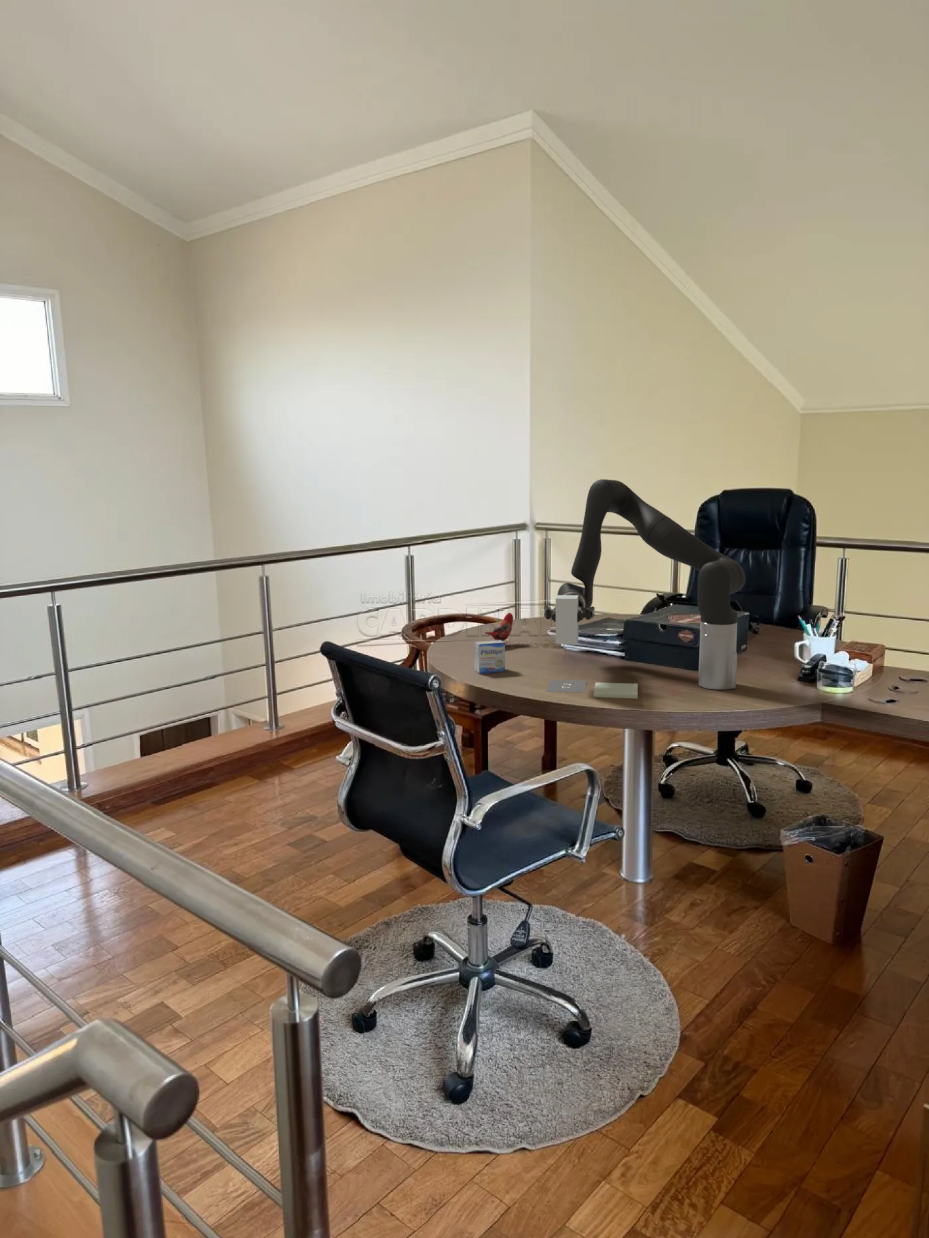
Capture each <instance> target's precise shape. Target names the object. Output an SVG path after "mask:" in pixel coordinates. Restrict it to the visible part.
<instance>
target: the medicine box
mask: <svg viewBox="0 0 929 1238" xmlns="http://www.w3.org/2000/svg"><path fill="white" fill-rule="evenodd" d="M505 643H506V642H504V641H501V640H495V639H494V640H485V641H475V642H474V670H475V671H476V672H477V673H478V674H479V675H483V674H485V675H486V674H494V673H500V672H501V673H502V672H506V647H505V646H506V644H505Z"/></svg>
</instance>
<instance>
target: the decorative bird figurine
mask: <svg viewBox="0 0 929 1238" xmlns="http://www.w3.org/2000/svg"><path fill="white" fill-rule="evenodd" d="M502 619H503V620H502V621H501V622H500V623H499V624H497V625H496V627H494V629H493V630H492V631H487V632H484V634H486V635H488V636H489V635H490V636H491V637H492V639H494V641H495V640H501V641H503V642H504V641H506V640H507V639H508V638H509V636H510V635H511V633H512V629H513V628H512V627H513V624H514V616H513V614H512V612H507V614H505V616H504V617H503V618H502ZM504 643H505V645H506V644H507V643H508V641H507V642H504Z"/></svg>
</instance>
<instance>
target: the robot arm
mask: <svg viewBox="0 0 929 1238" xmlns="http://www.w3.org/2000/svg"><path fill="white" fill-rule="evenodd" d="M607 513H611V514H616V515H618V516H619V517H621V518H623V519H624V520H626V521H628V522H629V523H630V524H632V526H634V528H635V529H636V532H637V534H639V537H640V538H641V539H642V541H643V542H644V543H645V544H646V545H648V546H650V547H651V548H652V549H653V550H655V551H656V552H657V553H659V554H661V555H662V556H664V557H666V558H668V559H671V560H672V561H676V562H678V563H680V564H684V565H686V566H689V567H690V568H693V569H695V570H696V571H697V572H698V576H697V609H698V613H699V615H700V624H699V625H700V627H699V630H700V632H699V655H698V657H699V658H698V685H699V686H700V687H702V688H704V689H709V690H729V689H730V690H731V689H736V686H737V665H738V664H737V663H738V652H737V638H738V635H737V634H738V612H737V610H735V609H733V608H732V606H731V595H732V594H735V593H738V592H739V591H741V590H742V588H744V586H745V584H746V573H745V571H744V569H743V567H742V566H741V565H740V564H739V563H738V562H737V561H736V560H734V559H732V558H731V557H729V556H727V555H725V554H723V553H721V552H719V551H718V550H717V549H714V548H712V547H711V546H709V545H708V544H706V543H705V542H703V541H702V540H700V539H699V538H698V537H697V536H695V535H694V534H692V533H691V532H690V531H688V530H687V529H686V528H684V527H683V526H682V525H681V524H679V523H677V522H676V521H675V520H673V519H672V518H671V517H669V516H667V515H666V514H664V513H663V512H662V511H660V510H658V509H657V508H655V507H654V506H653V505H651V504H648V502H646V501H644V500H643V499H642V498H641V497H640V496H639V495H638V494H637V493H635V491H633V490H632V489H631V488H630V487H629V486H628V485H626V484H625V483H623V481H620V480H617V479H616V480H615V479H604V478H603V479H598V480H597V479H596V480H595V481H594V482H593V483H592V484H591V486H590V488H589V490H588V493H587V499H586V503H585V510H584V516H583V523H582V529H581V536H580V540H579V545H578V548H577V550H576V554H575V557H574V561H573V563H572V567H571V571H570V573H571V575H572V577H574V578H575V579H576V580H578V581H580V582H581V583H582V584H583V586H580V585H577V584H574V583H571V582H565V583H562V584H561V585H560V587H559V588H558V591H557V594H556V596H557V595H578V613H577V622H578V623H580V622H581V621H584V619H585V620H587V621H589V620H592V619H593V618H594V617H595V616H596V615H595V611H596V609H595V606H592V605H593V600H594V581H595V578H596V574H597V570H598V567H599V564H600V560H601V558H602V557H601V556H602V528H603V523H604V521H605V517H606V515H607ZM543 611H544V613H543V615H544V618H545V619H546V620H550V619H551V621H553V622H555V623H556V606H555V607H554V608H551V607H550V606H548V605H545V606H544V609H543Z"/></svg>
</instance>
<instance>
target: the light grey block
mask: <svg viewBox="0 0 929 1238" xmlns="http://www.w3.org/2000/svg"><path fill="white" fill-rule="evenodd" d="M555 607H556V622H555V645H578V643H579V622H577V613H578V595H557V594H556V597H555Z"/></svg>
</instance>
